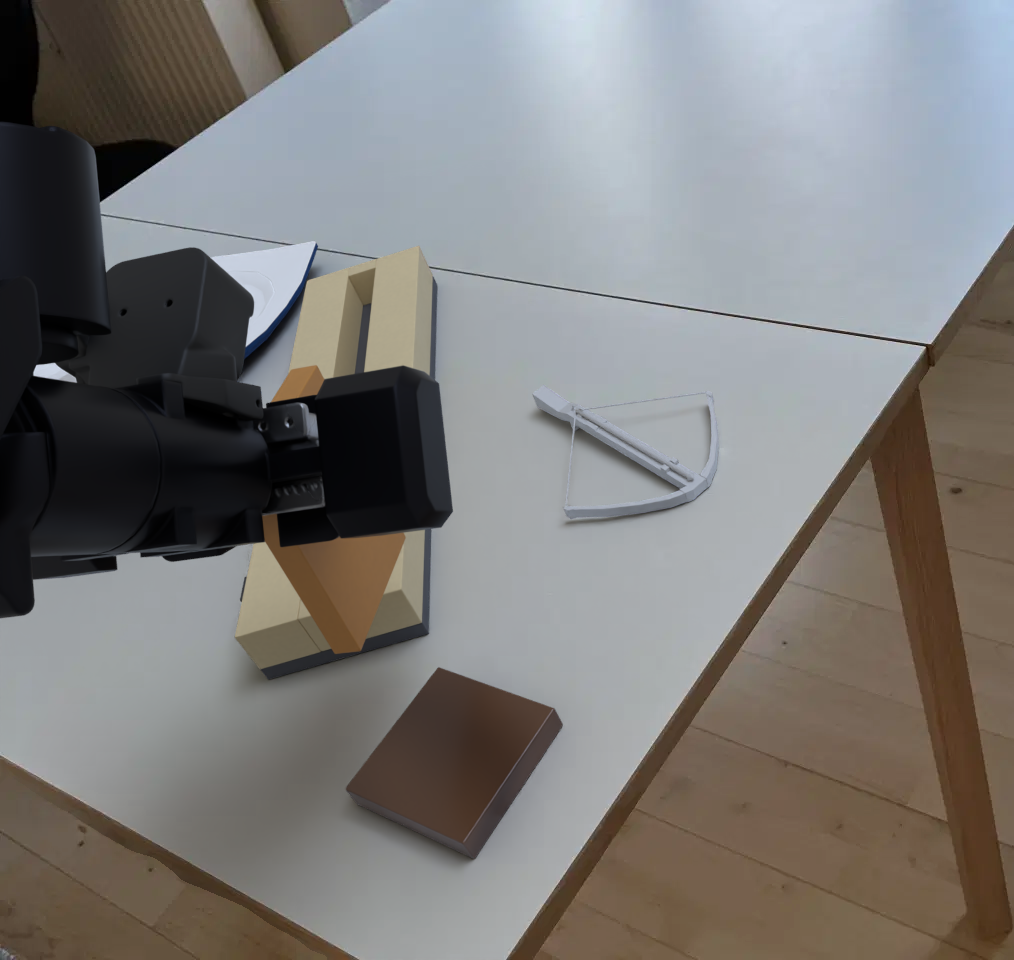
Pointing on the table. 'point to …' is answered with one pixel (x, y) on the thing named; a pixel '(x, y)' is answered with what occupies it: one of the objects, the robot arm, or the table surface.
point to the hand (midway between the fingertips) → (330, 484)
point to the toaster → (337, 352)
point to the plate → (269, 284)
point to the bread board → (455, 760)
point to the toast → (334, 560)
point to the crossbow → (632, 456)
